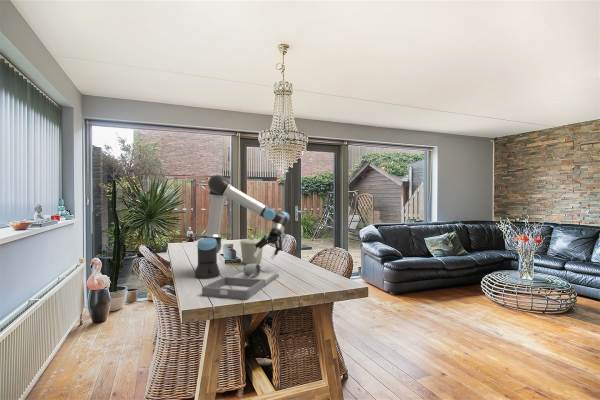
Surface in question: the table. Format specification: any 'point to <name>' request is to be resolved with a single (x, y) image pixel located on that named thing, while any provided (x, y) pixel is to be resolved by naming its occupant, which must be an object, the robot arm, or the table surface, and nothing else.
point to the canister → (250, 251)
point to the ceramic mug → (251, 270)
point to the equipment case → (239, 279)
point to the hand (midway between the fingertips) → (263, 257)
